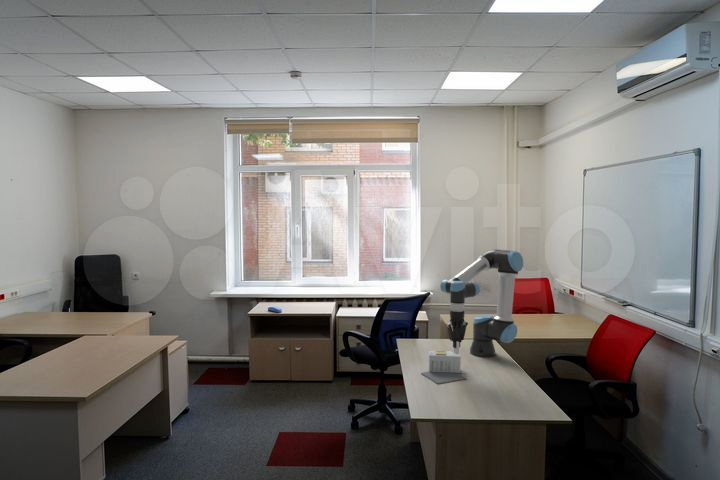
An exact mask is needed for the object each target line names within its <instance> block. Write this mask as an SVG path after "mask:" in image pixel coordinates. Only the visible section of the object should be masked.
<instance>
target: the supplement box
mask: <svg viewBox="0 0 720 480" xmlns="http://www.w3.org/2000/svg"><path fill="white" fill-rule="evenodd" d="M461 359H462V358H461V353H460V352H459V354H455V353H454V350H453V351H452V350H451V351H450V350H449V351H447V350H429V351H428V369H429V371H428V372H452V373H458V374H460V373H461V366H462V365H461V363H462V362H461Z"/></svg>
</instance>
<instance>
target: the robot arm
mask: <svg viewBox="0 0 720 480" xmlns="http://www.w3.org/2000/svg"><path fill="white" fill-rule="evenodd" d="M523 267H524V258H523V256H522V254H521V253H520V252H518V251H517V250H506V249H492V250H489V251H487V252H484V253H482V254H481V255H479V256H478V257H476V259H475V261H473V262H472V263H471V264H469V265H468V266H467V267H465V268H464V269H462V270H461V271H459V272H458V273H457V274H456V275H455V276H453V277H452V278H450V279H443V280H442V281H441V282H440V285H439V287H440V290H441V292H443V293H445V294H450V299H449V300H450V303H449V306H450V307H449V308H450V310H449V318H450V320H449V322H448V323H446V324H445V326H446V328H447V333H448V337H449V341H451V342H452V347H453V351H454V353H455V354H459V353H460V348H461V343H462V341H464V339H465V335H466V331H467V326H468V325H469V323H468V322H466V321H465V308H466V307H465V304H466V303H465V302H466V301H465V300H466V298H474V297H477V296H478V295H479V294H480V291H481V287H480V285H479V284H478V283H477V282H471V281H473V280H474V279H475V278H476V277H478V276H479V275H480V274H482V273H483V272H487V271H489V270H491V269H494V270H495V269H496V270H497V273H498V275H499V284H498V295H497V305H496V306H497V307H496V315H495V316H494V317H493V316H492V315H477V316H475V317H474V318H473V322H472V323H473V327H472V328H473V331H472V332H473V333H472V336H473V338H472V339H473V340H472V342H471V346H470V349H469V353H470V354H471V355H473V356H477V357H482V358H485V357H487V358H489V357H493V356H495V355H496V349H495V346H494V341H496V342H497V341H498V342H501V343H506V344H509V343H510V344H511V343H512V342H513V341H514V340H515V338H516V337H517V334H518V326H517V324H515V320H514V318H513V305H514V295H515V293H514V292H515V283H516V282H515V281H516V277H517V276H518V275H519V272H521V271H522V269H523ZM493 340H494V341H493Z"/></svg>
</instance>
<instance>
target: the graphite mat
mask: <svg viewBox="0 0 720 480" xmlns="http://www.w3.org/2000/svg"><path fill="white" fill-rule="evenodd" d="M420 374H421V375H422V376H424V378H427V379H429V380H430V381H432V382H433V383H435V384H437V385H440V384H447V383H452V382H458V381H462V380H463V381H464V380H467V377H466V376H464V375H462V374H460V373H452V372H429V371H424V372H420Z"/></svg>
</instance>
